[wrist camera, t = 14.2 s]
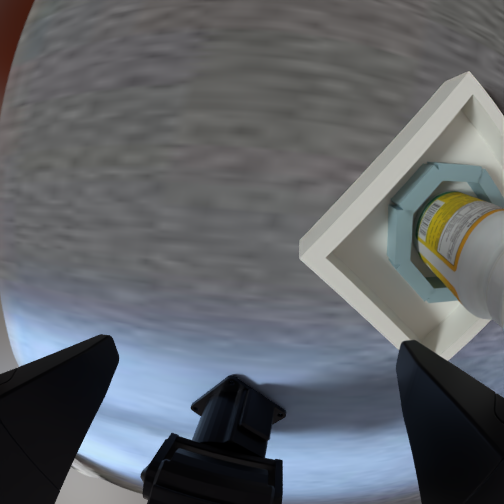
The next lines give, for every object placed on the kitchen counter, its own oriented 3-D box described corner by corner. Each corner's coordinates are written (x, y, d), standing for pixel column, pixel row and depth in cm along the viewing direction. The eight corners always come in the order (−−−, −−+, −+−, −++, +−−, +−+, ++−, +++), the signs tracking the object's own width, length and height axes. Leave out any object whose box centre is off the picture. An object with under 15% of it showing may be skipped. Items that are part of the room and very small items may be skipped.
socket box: (414, 349, 21) (427, 377, 17) (299, 240, 19) (299, 258, 16) (535, 217, 16) (561, 229, 12) (444, 81, 14) (469, 71, 11)
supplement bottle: (404, 199, 17) (488, 245, 8) (472, 182, 15) (573, 214, 6) (416, 278, 18) (480, 367, 9) (479, 258, 17) (561, 325, 8)
